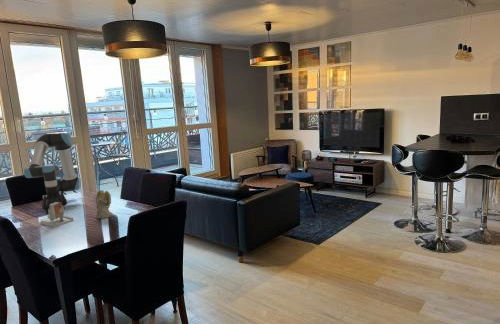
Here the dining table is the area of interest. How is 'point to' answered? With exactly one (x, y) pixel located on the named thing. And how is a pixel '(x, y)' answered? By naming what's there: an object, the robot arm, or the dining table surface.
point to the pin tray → (57, 220)
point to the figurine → (103, 204)
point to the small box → (55, 210)
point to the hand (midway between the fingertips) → (56, 216)
